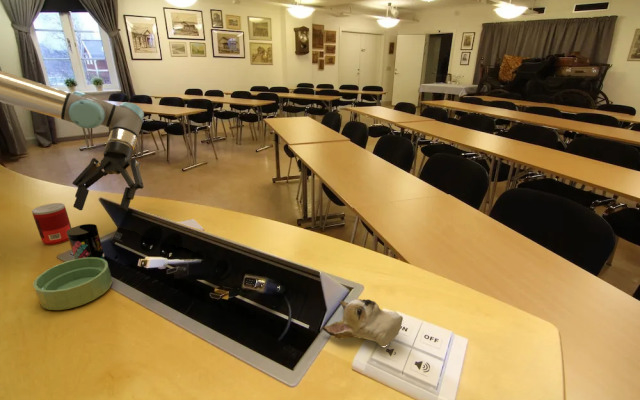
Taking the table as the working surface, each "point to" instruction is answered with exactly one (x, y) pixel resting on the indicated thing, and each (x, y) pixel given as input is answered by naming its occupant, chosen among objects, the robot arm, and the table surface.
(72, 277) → the bowl
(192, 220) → the charger
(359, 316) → the ceramic sculpture
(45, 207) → the canned food
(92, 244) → the supplement container
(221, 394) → the table surface
